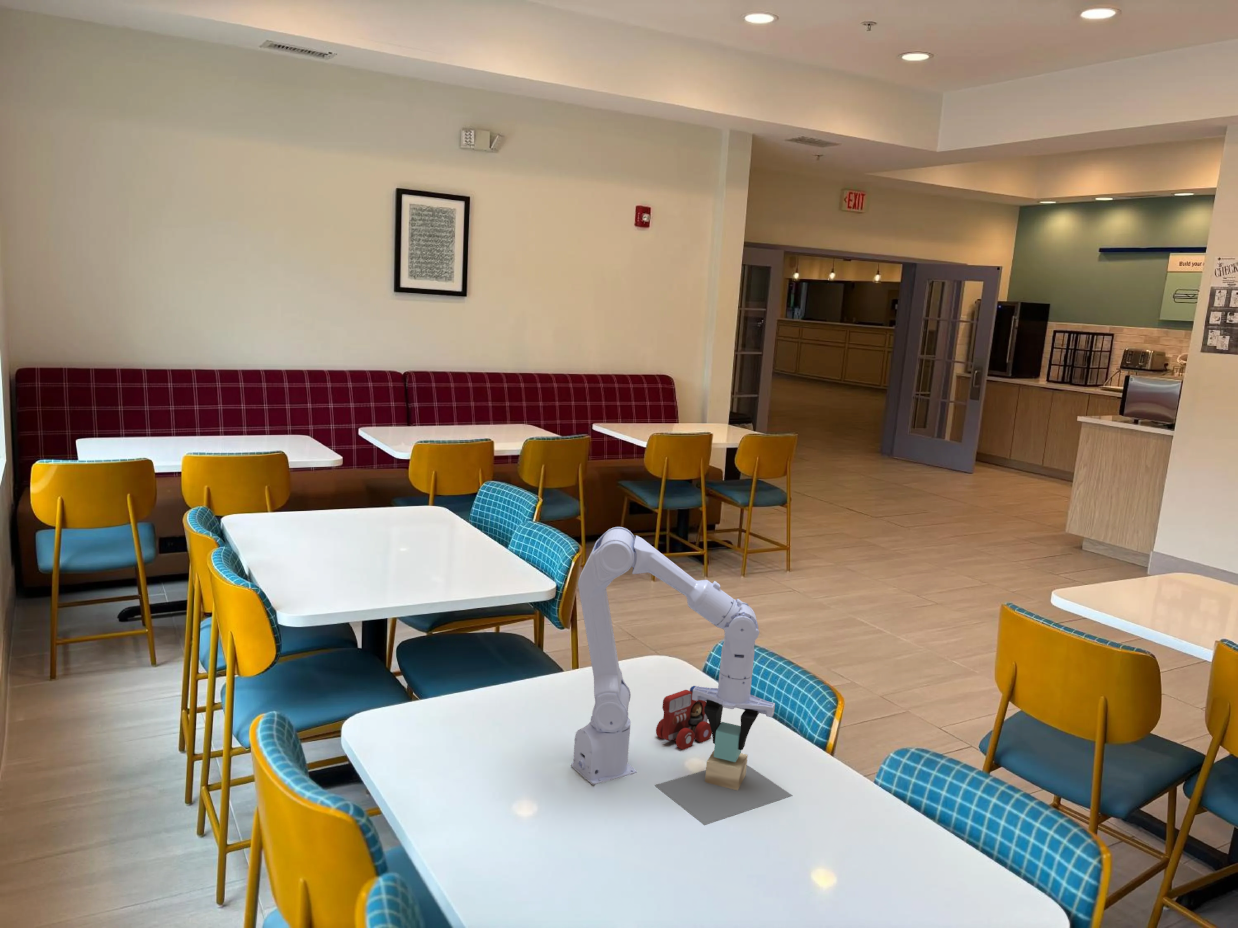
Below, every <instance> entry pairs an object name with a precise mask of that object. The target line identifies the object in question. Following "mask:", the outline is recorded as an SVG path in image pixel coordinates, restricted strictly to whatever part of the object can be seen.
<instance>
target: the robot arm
mask: <svg viewBox="0 0 1238 928" xmlns="http://www.w3.org/2000/svg"><path fill="white" fill-rule="evenodd" d="M631 568H632V571H631V572H632V573H631V574H632V575H638V574H651V575H652V576H654V577H655V578H657V579H658V580H660V581H662V582H663V583H665V584H666V585H668V586H669V587H671V588H672V589H675V590H676V591H677V592H679V593H680V594H682V595H683V596H685V597H686V602H687V607H688V608H690V609H691V610H692V611H694V612H695V613H697V614H698V615H699V616H701V617H702V618H703V619H705V620H706V621H708V622H709V623H711V624H712V625H713V626H715V627H717V628H719V629H722V630H724V635H723V644H722V646H721V656H720V664H719V675H718V684H717V687H708V686H706V687H705V686H700V685H698V686H697V685H694V686H695V688H694V689H693V694H692V700H696V701H698V700H703V701H706V706H705V707H704V712H705V714H706V716H707V718H708V721H707V722H708V723H709V724H710V727H711V731H712V735H711V736H712V744H714V745H715V737H716V730H717V729H718V727H719V725H720V724H721V722H722V718H723V717H722V715H723V711H724V710H723V709H724V708H725V709H729V710H734V709H740V710H744V711H743V712H742V714H741V715H740V726H741V731H740V739H739V745H738V750H741V751H743V750H744V747H746V741H747V738H748V735H749V733H750V730H751V728H752V726H753V724H754V723H755V721H756V719H757V717H758V716H759V714H762V715H765V716H766V717H768V718H773V716H774V714H775V709H776V708H775V707H776V703H775V702H772V701H767V700H766V699H763V698H761V697H758V696H755V695H753V694H751V690H752V677H753V670H754V662H755V661H754V660H755V646H756V645H755V644H756V640H757V639H758V638H759V635H760V630H759V624H758V621H757V620H758V619H757V616H756V613H755V611H754V610H753V608H752V607H751V606H749V603H747V602H744V601H742V600H741V599H739V598H736V599H735V598H733V597H732V596H730V595H729V594H728V593H727V592H725V591H724V590H723V589H721V584H720V583H718V582H717V581H716V580H714V581H713V582H711V581H710V580H708V579H701V580H700V579H699V580H696V579H695V578H694V577H692V576H691V575H690V574H688V573H687V572H686V571H685V570H683V569H682V568H681V567H679V566H678V565H677V564H676V563H674V562H673V561H672V560H670V559H669V558H668V557H667V556H665V554H663V553H661V552H660V551H659V550H658V549H657V548H655V547H654V546H652V544H650V543H649V542H647V541H646V540H645V539H644V538H642V537H640V536H639V535H634V534H633V533H632V532H631V530H629V529H628V528H626V527H622V526H615V527H612V528H609V529H608V530H607V531H605V532H604V533H603V534H602V535H601V536H600V537H598V539H597V540H596V541H595V543H594V546H593V547H592V550H591V552H590V554H589V556H588V558H587V560H586V562H585V565H584V566H583V568H582V571H581V573H580V575H579V578H578V580H577V582H578V583H577V586H578V587H577V588H578V592H579V598H580V604H581V610H582V615H583V621H584V628H585V634H586V640H587V644H588V645H587V646H588V651H589V657H590V663H591V669H592V673H593V675H592V676H593V694H594V695H593V696H594V705H593V709H592V713H591V716H590V721H589V723H588V724H586V725H585V726H584V727H582V728H580V729H577V731H576V732H575V736H574V743H573V744H574V745H573V746H574V748H573V761H572V762H571V763H570V767H571V768H573V770H575V771H576V772H577V773H578V774H579V775H581V776H582V777H583V778H584V779H585V780H587V782H589V783H590V784H591V785H592V786H596V785H598V784H603V783H606V782H608V781H609V782H610V781H613V780H616V779H620V778H623V777H627V776H630V775H634V774H637V773H638V771H637V769H635V768H634V767H633V766H632V765H631V764H629V763H628V761H629V748H630V747H629V745H630V734H631V725H632V724H631V723H632V722H631V720H630V718H629V707H630V706H629V704H630V701H631V691H630V690H631V689H630V687H629V685H627V683H626V682H625V680H624V677H623V671H622V670H621V667H620V663H619V657H618V651H617V647H616V639H615V634H614V628H613V621H612V615H611V608H610V603H609V596H608V590H607V588H608V587H609V586H610V584H611V583H612V582H614V580H615V579H616V578H619V577H621V576H622V575H624V574H625V573H627V572H629V570H630V569H631Z"/></svg>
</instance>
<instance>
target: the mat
mask: <svg viewBox="0 0 1238 928" xmlns="http://www.w3.org/2000/svg"><path fill="white" fill-rule="evenodd" d="M705 775H706V769H705V770H701V771H698V772H695V773H694V772H693V773H692V774H688V775H684V776H681V777H678V778H675V779H670V780H668V781H667V780H666V781H663V782H661V783H658V784H654V785H653V786H654V787H656V788H657V789H658V790H660V792H662V793H663V794H664V795H666V796H667V797H668V798H670V800H672V801H673V802H675V803H676V804H677V805H678V806H679V807H681V808H682V809H683V810H685V811H686V812H687V813H688V814H689V815H691V816H692V817H693V818H694V819H696V820H697V821H698V822H699V823H701V824H702V825H703V826H707V825H710V824H712V823H715V822H718V821H722V820H724V819H727V818H730V817H731V818H732V817H733V816H736V815H740V814H742V813H743V814H744V813H746V812H749V811H751V810H755V809H758V808H760V807H763V806H766V805H769V804H772V803H775V802H779V801H781V800H784V799H787V798H790V797H793V794H791V793H790V792H788V791H787V790H785V789H784V788H782V787H781V786H780V785H778V784H776V783H775V782H774V781H772V780H771V779H769V778H768V777H766V776H764V775H763V774H761V773H760V772H759V771H757V770H755V769H754V768H752V767H751V766H750V765H748V764H747V767H746V775H745V777H744V779H743V781H742V783H741V785H740V787H739V789H738V790H734V789H730V788H726V787H722V786H718V785H714V784H710V783H706V782H705Z"/></svg>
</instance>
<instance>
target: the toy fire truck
mask: <svg viewBox="0 0 1238 928" xmlns="http://www.w3.org/2000/svg"><path fill="white" fill-rule="evenodd" d="M695 686H696V685H693V686H691V687H690V688H689V690H688V689H684V690H680V691H677V692H675V693H672V694H669V695H666V696H665V697H664V698H663V700H662V711H663V717H662V718H661V719H660V720H659V721H658V723H657V725H656V727H655V735H656V736H657V738H659V739H661V740H666V741H669V742H670V741H675V745H676V747H677V748H678V749H680V750H682V751H685V750H687V749H689V748H691V747H692V745H693V744H694V742H695V741H697V742H699V743H702V744H703V743H704V742H707V741H710V739H711V736H712V731H711V727H710V724H709V721H708V718H707V716H706V714H705V712H704V707H705V706H706V701H703V700H698V701H696V700H692V694H693V689H694V688H695Z"/></svg>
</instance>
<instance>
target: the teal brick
mask: <svg viewBox="0 0 1238 928" xmlns="http://www.w3.org/2000/svg"><path fill="white" fill-rule="evenodd" d="M740 731H741V725H738V724H733V723H729V722H725V721H721V724H720V725H719V727H718V729H717V730H716V737H715V744H714V749H713V751H714V757H716V758H720V759H724V760H728V761H732V762H736V761H737V759H738V757H739V755H740V753H742V750H738V745H739V739H740Z"/></svg>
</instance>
